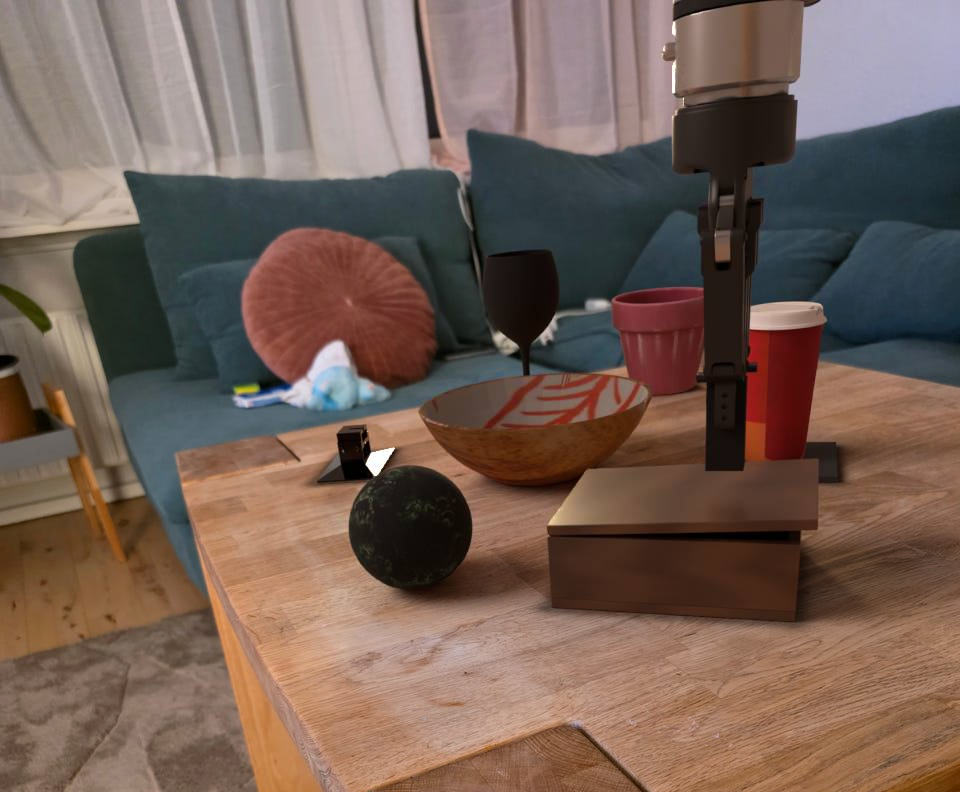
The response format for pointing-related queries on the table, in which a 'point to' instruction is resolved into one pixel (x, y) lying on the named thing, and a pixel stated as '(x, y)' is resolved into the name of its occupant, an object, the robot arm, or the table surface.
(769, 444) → the coffee cup
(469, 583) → the table surface
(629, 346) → the flower pot
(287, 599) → the table surface
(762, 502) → the lid
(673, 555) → the storage box
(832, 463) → the mat
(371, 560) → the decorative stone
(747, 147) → the robot arm
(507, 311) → the wine glass
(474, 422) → the bowl
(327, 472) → the black block with wedges
